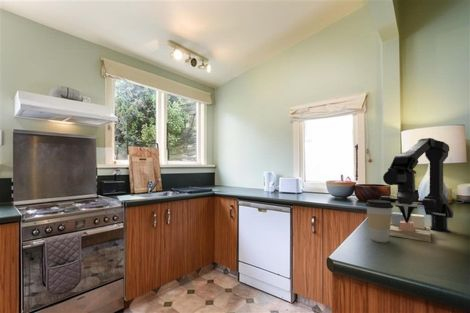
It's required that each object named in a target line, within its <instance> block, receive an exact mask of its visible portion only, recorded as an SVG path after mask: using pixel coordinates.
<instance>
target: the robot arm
mask: <svg viewBox="0 0 470 313" xmlns="http://www.w3.org/2000/svg"><path fill="white" fill-rule="evenodd" d="M449 152H450V146H449V144H448V143H446V142H444V141H441V140H438V139H437V140H436V139H434V138H432V137H428V138H420V139H419V140H418V141H417V142H416V143H415V144H414V145H413V146H411V148H410V149H408V150H407V151H405V152H401V153H398V154H395V155H394V158H393V159H392V162H391V164H390V166H389V168H387V171H386V172H385V173H384V174H383V175H382V176H383V177H382V178H383V179H382V180H383V181H384V183H385V184H386V185H387V186H397V194H396V197H395V198H394V197H393V198H392V196H390V195H389V196H388V195H381V196H379V199H378V200H384V201H390V202H391V204H392V203H393V204H395V205H394V206H395V208H396V207H397V208H398V209H399V211H400V213H402V215H403V217H404V220H405V222H406V223H408V222H410V221H409V220H410V219H411V214H413V211H414V209H418V205H419V206H423V208H424V213H425V215H426V216H430V223H431V224H430V226H429V227H430V231H431V230H432V231H440V232H448V233H450V229H449V228H448V219H451V218H452V219H453V217H454V211H453V209H452V208H451V206H450V204H449V199H448V198H447V197H446V195H445V194H444V162H445V161H446V160H447V158H448V156H449ZM424 154H425V155H424ZM423 155H424V156H425V157H426V159H427V160H428V162H429V193H428V194H427V195H425V196H424V198H422V200H421V199H420V200H419V198H420V197H419V192H417V191H416V192H415V174H417V171H416V170H414V169H415V168H416V166H417V165H418V164H419V158H421V157H422V156H423ZM406 205H407V206H408V207H407V211H406Z"/></svg>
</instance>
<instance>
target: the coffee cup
mask: <svg viewBox="0 0 470 313" xmlns="http://www.w3.org/2000/svg"><path fill="white" fill-rule="evenodd" d="M366 201H367V202H366V203H365V205H364V206H365V207H366V215H367V216H366V217H367V225H368V227H369V235H370V240H371V241H374V242H377V243H388V242H389V240H390V235H389V231H390V225H391V222H392V209H393V208H394V204H392V202H390V201H384V200H379V199H367V200H366Z"/></svg>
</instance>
